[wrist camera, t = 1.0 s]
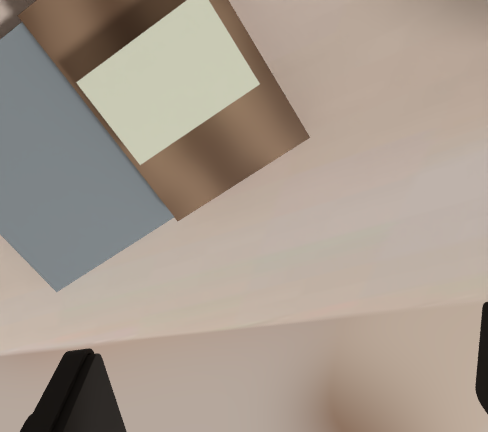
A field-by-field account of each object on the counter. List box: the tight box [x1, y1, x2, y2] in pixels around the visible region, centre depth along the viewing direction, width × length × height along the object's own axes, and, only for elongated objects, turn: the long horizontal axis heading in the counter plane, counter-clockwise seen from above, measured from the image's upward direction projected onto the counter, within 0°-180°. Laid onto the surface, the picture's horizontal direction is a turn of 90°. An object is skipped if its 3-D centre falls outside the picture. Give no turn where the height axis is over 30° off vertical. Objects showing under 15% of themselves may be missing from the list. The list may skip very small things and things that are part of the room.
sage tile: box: [76, 0, 260, 165], centre depth 26 cm, size 9×6×2 cm, turn 123°
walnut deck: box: [18, 0, 310, 221], centre depth 28 cm, size 11×16×2 cm
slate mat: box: [0, 22, 174, 292], centre depth 31 cm, size 12×16×1 cm
